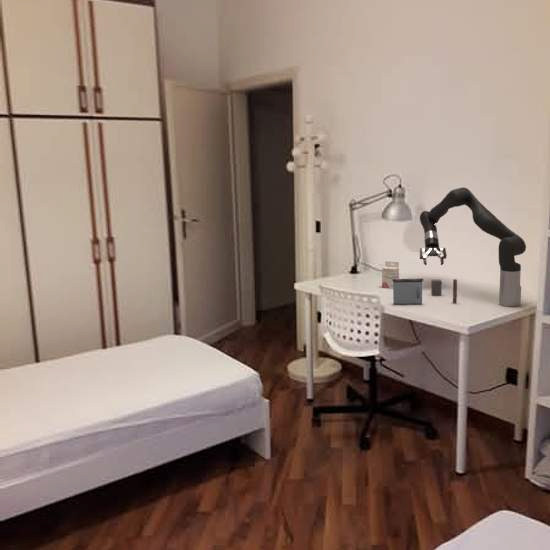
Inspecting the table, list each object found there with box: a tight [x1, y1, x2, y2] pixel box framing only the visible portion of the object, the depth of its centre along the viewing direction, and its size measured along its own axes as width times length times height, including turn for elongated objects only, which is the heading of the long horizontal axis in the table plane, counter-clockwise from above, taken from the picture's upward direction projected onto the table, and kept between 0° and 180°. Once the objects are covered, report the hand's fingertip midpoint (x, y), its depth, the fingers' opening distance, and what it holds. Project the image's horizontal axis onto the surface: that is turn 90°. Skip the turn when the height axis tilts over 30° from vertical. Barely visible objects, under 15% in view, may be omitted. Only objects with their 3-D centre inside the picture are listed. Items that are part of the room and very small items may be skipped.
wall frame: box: [392, 278, 458, 303], centre depth 289 cm, size 32×4×13 cm, turn 82°
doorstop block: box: [430, 278, 443, 297], centre depth 306 cm, size 5×5×8 cm
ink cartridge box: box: [381, 261, 400, 289], centre depth 327 cm, size 9×5×15 cm, turn 56°
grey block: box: [394, 281, 423, 305], centre depth 289 cm, size 14×2×11 cm, turn 82°
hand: (433, 264), depth 315 cm, fingers open, 8 cm apart
